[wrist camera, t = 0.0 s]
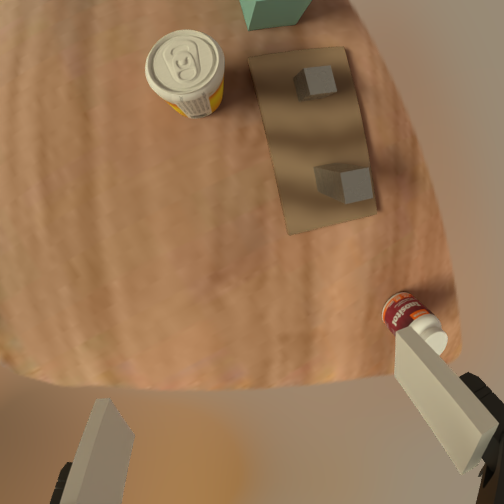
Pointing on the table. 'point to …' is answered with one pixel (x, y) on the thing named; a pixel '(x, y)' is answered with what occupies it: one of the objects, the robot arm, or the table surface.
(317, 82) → the short post
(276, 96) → the board
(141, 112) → the table surface
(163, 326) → the table surface
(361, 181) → the tall post
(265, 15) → the mint green toy brick
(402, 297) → the pill bottle
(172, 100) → the beer can
